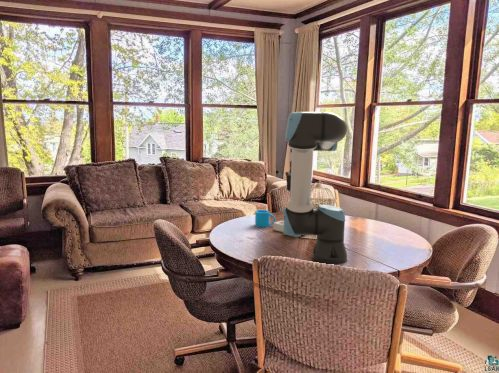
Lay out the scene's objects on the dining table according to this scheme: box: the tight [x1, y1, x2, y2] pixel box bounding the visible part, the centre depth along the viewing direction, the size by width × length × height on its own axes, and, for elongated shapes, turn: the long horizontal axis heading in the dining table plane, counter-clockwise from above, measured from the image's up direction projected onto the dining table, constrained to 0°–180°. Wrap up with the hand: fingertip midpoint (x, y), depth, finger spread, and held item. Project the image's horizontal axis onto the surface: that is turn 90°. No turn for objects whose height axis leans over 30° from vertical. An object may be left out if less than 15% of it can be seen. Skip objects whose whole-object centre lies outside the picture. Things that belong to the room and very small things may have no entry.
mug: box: [254, 209, 276, 228], centre depth 236 cm, size 12×8×8 cm
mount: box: [273, 220, 284, 233], centre depth 227 cm, size 7×7×4 cm
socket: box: [282, 227, 301, 238], centre depth 219 cm, size 9×9×6 cm
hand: (296, 204), depth 217 cm, fingers closed on pin, 3 cm apart
